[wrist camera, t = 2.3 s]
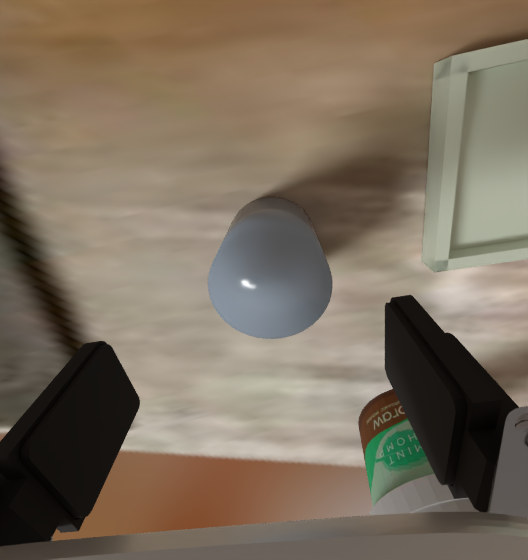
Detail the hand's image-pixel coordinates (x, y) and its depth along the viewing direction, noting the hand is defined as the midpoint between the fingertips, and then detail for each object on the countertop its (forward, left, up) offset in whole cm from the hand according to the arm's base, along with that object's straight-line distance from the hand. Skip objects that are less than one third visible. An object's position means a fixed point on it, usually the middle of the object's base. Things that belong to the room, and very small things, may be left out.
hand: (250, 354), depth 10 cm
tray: (-17, -2, -12) cm, 20 cm away
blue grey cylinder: (-1, 0, -12) cm, 12 cm away
